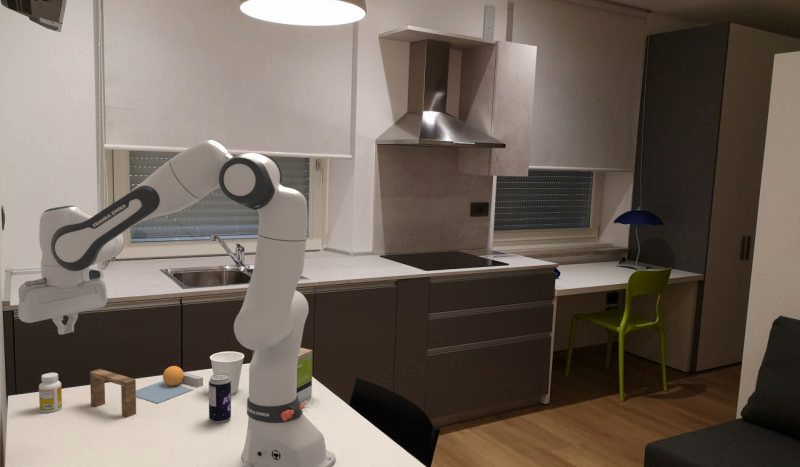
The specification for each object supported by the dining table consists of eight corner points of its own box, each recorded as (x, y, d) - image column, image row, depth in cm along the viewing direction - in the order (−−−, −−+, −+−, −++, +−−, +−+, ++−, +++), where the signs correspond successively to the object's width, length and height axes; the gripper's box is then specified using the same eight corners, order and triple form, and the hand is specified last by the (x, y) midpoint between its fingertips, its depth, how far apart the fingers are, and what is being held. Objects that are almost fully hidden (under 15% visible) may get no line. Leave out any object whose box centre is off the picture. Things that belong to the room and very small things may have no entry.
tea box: (250, 397, 191) (251, 348, 189) (272, 387, 200) (273, 340, 198) (292, 408, 184) (292, 357, 182) (312, 397, 193) (313, 348, 191)
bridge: (136, 413, 177) (135, 379, 176) (126, 417, 174) (126, 382, 173) (100, 402, 184) (99, 368, 183) (90, 405, 182) (90, 371, 180)
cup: (207, 388, 197) (207, 353, 196) (240, 384, 201) (240, 349, 200) (212, 400, 188) (212, 363, 187) (247, 395, 192) (247, 359, 191)
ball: (189, 383, 200) (186, 365, 198) (172, 391, 195) (169, 373, 193) (176, 378, 203) (174, 360, 202) (160, 386, 198) (157, 368, 197)
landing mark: (192, 389, 195) (192, 389, 195) (157, 403, 184) (157, 403, 184) (163, 381, 202) (162, 380, 202) (127, 394, 191) (127, 393, 190)
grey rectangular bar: (203, 385, 200) (203, 377, 199) (198, 387, 198) (198, 379, 198) (175, 377, 205) (175, 369, 205) (170, 379, 204) (170, 371, 203)
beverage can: (224, 425, 171) (224, 381, 170) (205, 422, 172) (204, 379, 171) (234, 417, 177) (234, 374, 175) (215, 414, 178) (215, 372, 176)
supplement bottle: (55, 403, 182) (54, 370, 181) (66, 408, 179) (64, 374, 178) (35, 409, 177) (34, 375, 176) (46, 414, 174) (44, 379, 173)
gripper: (26, 284, 141) (30, 345, 143) (109, 270, 159) (112, 325, 161) (10, 281, 145) (14, 341, 146) (93, 267, 162) (96, 322, 164)
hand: (66, 333), depth 154 cm, fingers closed
